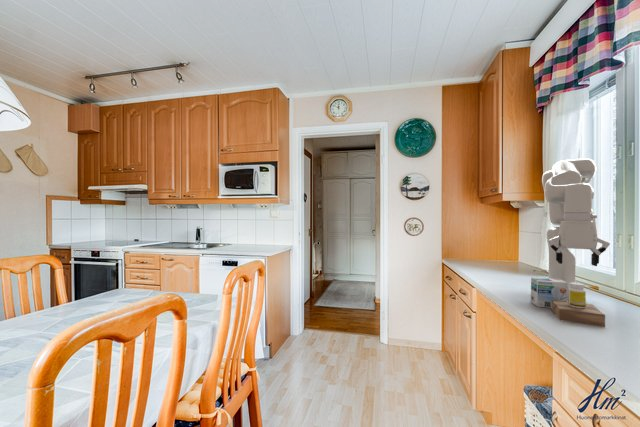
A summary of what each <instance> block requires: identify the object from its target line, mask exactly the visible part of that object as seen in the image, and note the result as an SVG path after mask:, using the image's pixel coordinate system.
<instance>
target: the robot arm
mask: <svg viewBox="0 0 640 427" xmlns="http://www.w3.org/2000/svg"><path fill="white" fill-rule="evenodd" d="M596 171H597V166H596V163H595V161H594V160H593V159H590V158H577V159H576V158H575V159H564V160H560V161H557V162H556V163H555V164H553V166H552V168H551V170H548V171H545V172H544V173H543V174H542V177H541V183H542V188H543V191H544V197H545V200H546V202H547V203H548V211H549V213H548V214H549V221H550V223H551V224H552V225H555V226H554V227H551V228H549V229H548V230H547V231H546V242H547V249H548V278H549V279H560V280H562V281H565V282H567V283H568V289H569V288H570V286H569V285H570V283H576V265H577V264H576V263H577V262H576V257H575V255H574V254H573V252H571V251H570V250H569V249H575V250H576V249H577V250H590V251H591V252H592V254H591V260H590V261H591V263H590V264H591V265H592V266H593V267H597V266H598V264H599V263H600V255H602V254H603V253H604V252H605V251H606V250H607V249H608V247H609V246H610V242H608V241H606V240H604V239H601V238H598V231H597V230H598V229H597V222H596V219H598V215H597V214H595V211H594V209H593V208H592V207H593V205H592V204H593V199H594V195H595V193H594V192H595V190H594V188H593V187H592V185H591V184H590V182H591V181H592V179H593V178H594V176H595V175H596ZM598 243H600V244H601V247H598V248H597V246H598Z"/></svg>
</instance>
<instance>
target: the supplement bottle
mask: <svg viewBox="0 0 640 427" xmlns="http://www.w3.org/2000/svg"><path fill="white" fill-rule="evenodd" d="M569 286H570V288H569V289H568V298H567V302H568V305H569V306H571V307H575V308H585V307H586V304H587V303H586V299H587V298H586V296H587V294H586V290H585V284H583V283H580V282H575V283H570V285H569Z"/></svg>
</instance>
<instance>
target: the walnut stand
mask: <svg viewBox="0 0 640 427" xmlns="http://www.w3.org/2000/svg"><path fill="white" fill-rule="evenodd" d="M551 312H552V313H553V314H554V315H555V316H556V317H557V319H558V320H559V321H562V320H563V322H570V323H577V324H583V325H584V324H585V325H591V326H599V327H606V314H605V313H603V311H601V310H599V309H598V308H597V307H596V306H595V305H593V304H591V303H586V307H585V308H575V307H571V306H569V305H568V301H567V302H566V301H557V300H552V308H551Z"/></svg>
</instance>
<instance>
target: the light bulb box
mask: <svg viewBox="0 0 640 427" xmlns="http://www.w3.org/2000/svg"><path fill="white" fill-rule="evenodd" d="M530 279H531V280H530V281H531V282H530V303H532V304H533V305H535V306H536V307H538V308H539V307H540V308H546V309H547V308H549V309H552V300H557V301H566V302H568V283H567V282H565V281H562V280H560V279H549V277H546V278H545V277H533V276H532V277H531V278H530Z"/></svg>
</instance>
